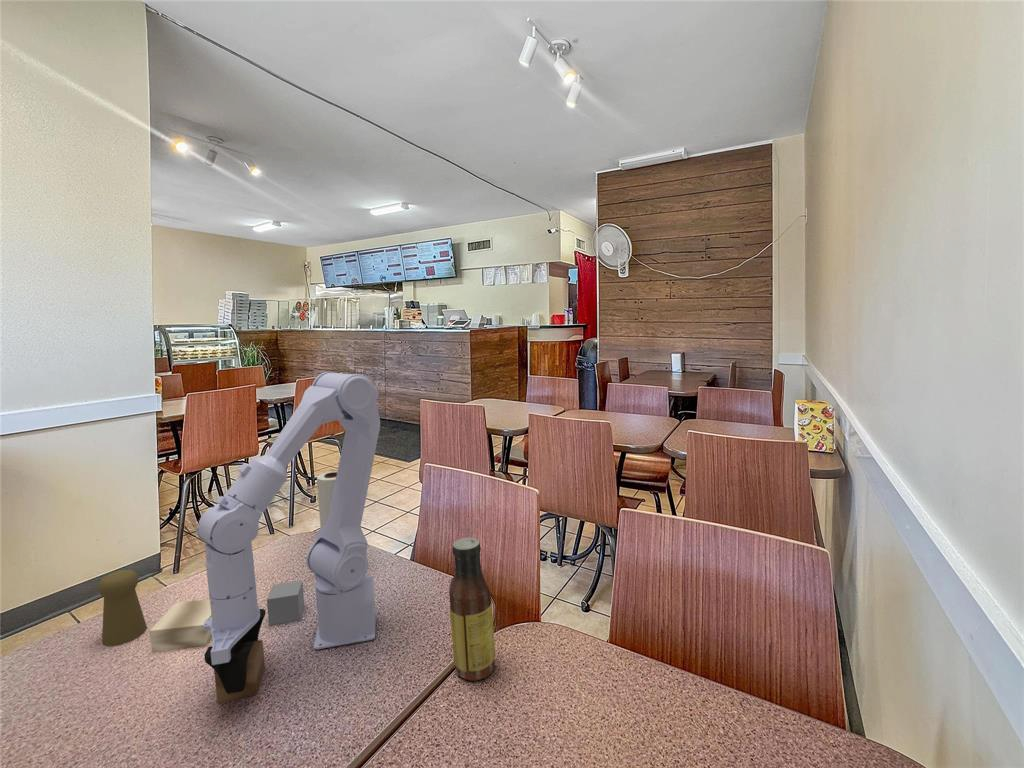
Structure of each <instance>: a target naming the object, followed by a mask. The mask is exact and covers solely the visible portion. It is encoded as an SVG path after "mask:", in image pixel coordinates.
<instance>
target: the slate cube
mask: <svg viewBox="0 0 1024 768" xmlns="http://www.w3.org/2000/svg"><path fill="white" fill-rule="evenodd" d="M266 605H267V606H266V607H267V617H268V625H269V626H270V627H271V626H278V625H283V624H288V623H289V624H290V623H296V622H300V621H301V618H302V615H303V611H304V608H305V596H304V584H303V580H297V581H290V582H288V581H287V582H284V583H277V584H272V586H271V588H270V591H269V593H268V596H267V598H266Z"/></svg>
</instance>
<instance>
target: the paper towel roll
mask: <svg viewBox="0 0 1024 768" xmlns="http://www.w3.org/2000/svg"><path fill="white" fill-rule="evenodd" d="M337 471H338V469H334V468H331V470H330V471H327V472H323V473H321V474H319V475H317V477H316V485H317V495H318V496H317V499H318V511H319V512H318V513H319V523H320V524H319V526H320V528H321V527H322V526H324V525H325V524H326V523H327V520H328V515H329V510H330V505H331V500H332V495H333V490H334V486H335V481H336V476H337Z"/></svg>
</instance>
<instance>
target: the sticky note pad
mask: <svg viewBox="0 0 1024 768" xmlns="http://www.w3.org/2000/svg"><path fill="white" fill-rule="evenodd" d="M208 618H212V617H211V607H210V598H209V599H199V600H189V601H181V602H174V604H173V605H171V607H170V608H169V609H168V610H167V611H166V613H164V614H163V615H162V617H161V618H160V619H159V620H158V621H157V622H156V623H155V624H154V625H153V626H152V628H150V630H149V631H148V632H149V640H150V646H151V647H150V648H151V653H155V652H156V653H157V652H165V651H167V652H168V651H174V650H175V651H176V650H182V649H191V648H201V647H206V646H207V645H208V644H209V642H210V641H211V640H212V633H211V630H203V624H204V622H205V621H206V620H207V619H208ZM207 643H208V644H207Z"/></svg>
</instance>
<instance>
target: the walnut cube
mask: <svg viewBox="0 0 1024 768" xmlns="http://www.w3.org/2000/svg"><path fill="white" fill-rule="evenodd" d="M263 640H264V639H263ZM263 640H262V639H259V640H258V641H254V643H253V645H252V648H251V650H250V653H249V656H248V661H247V671H246V683H245V687H244V690H243V691H241V692H236V693H230V694H227V692H226V691H225V689H224V686H223V684H222V682H221V680H220V678H219V676H218V674H217V673H216V671H215V670H214V669H213V672H214V673H213V674H214V683H215V693H216V701H217V703H222V702H226V701H231V700H237V699H242V698H243V699H244V698H246V697H247V698H248V697H252V696H257V695H258V693H259V690H260V687H261V684H262V681H263V679H264V676H265V674H266V673H265V672H266V664H265V653H264V642H263ZM248 643H250V642H248ZM242 644H244V643H242Z"/></svg>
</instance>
